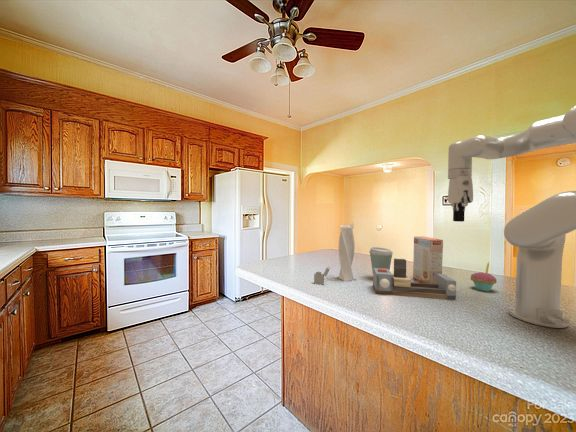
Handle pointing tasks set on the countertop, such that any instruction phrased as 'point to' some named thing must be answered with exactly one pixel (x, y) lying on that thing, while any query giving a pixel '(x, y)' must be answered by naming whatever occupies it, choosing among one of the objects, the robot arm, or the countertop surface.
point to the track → (418, 291)
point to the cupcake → (483, 280)
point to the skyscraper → (346, 252)
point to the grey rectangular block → (446, 284)
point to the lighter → (320, 276)
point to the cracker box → (427, 259)
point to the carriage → (400, 274)
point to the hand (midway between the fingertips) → (458, 221)
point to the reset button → (382, 270)
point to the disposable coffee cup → (380, 257)
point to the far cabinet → (383, 280)
